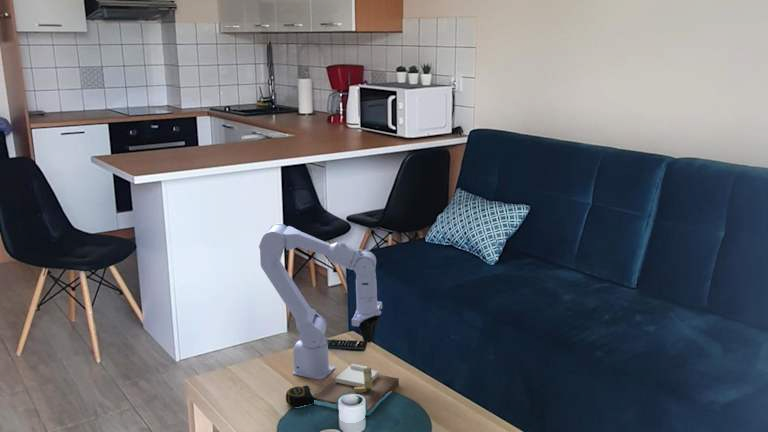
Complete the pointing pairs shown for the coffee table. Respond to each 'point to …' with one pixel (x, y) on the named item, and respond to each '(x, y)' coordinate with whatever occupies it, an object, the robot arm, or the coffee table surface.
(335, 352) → the coffee table surface
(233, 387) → the coffee table surface
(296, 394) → the tape measure
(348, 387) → the lock board
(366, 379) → the t-key
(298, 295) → the robot arm
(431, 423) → the coffee table surface
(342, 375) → the lid
